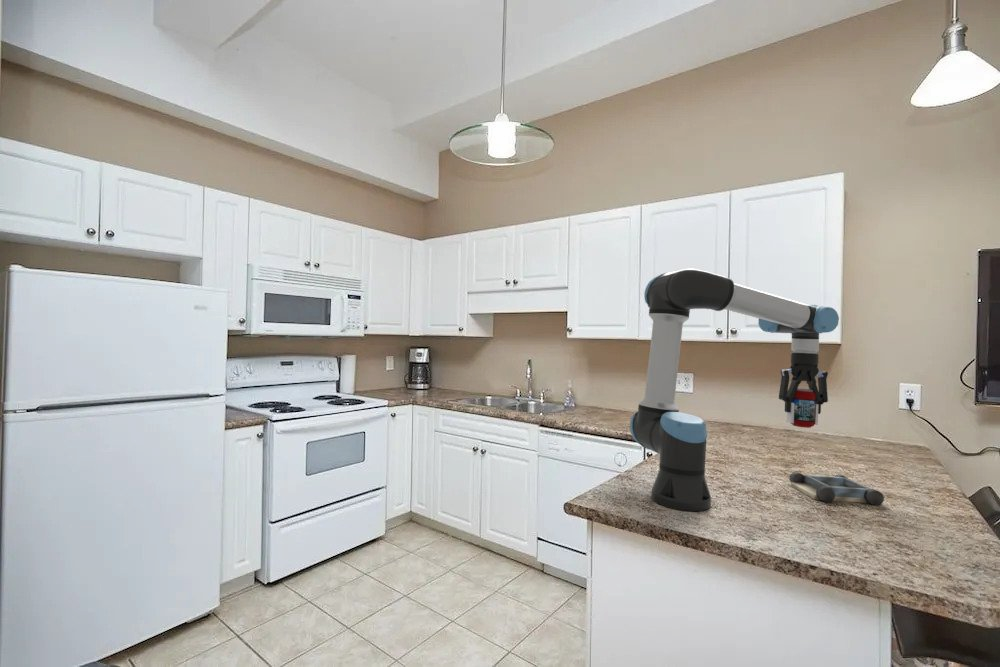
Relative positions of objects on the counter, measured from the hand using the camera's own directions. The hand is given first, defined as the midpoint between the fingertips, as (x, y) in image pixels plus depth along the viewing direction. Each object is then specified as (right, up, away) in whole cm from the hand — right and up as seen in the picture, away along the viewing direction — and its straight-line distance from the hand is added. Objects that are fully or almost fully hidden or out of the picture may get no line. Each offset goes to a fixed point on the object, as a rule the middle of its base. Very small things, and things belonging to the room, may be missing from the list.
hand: (802, 423), depth 152 cm
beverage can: (0, -1, 0) cm, 1 cm away
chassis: (+1, -19, -13) cm, 23 cm away
